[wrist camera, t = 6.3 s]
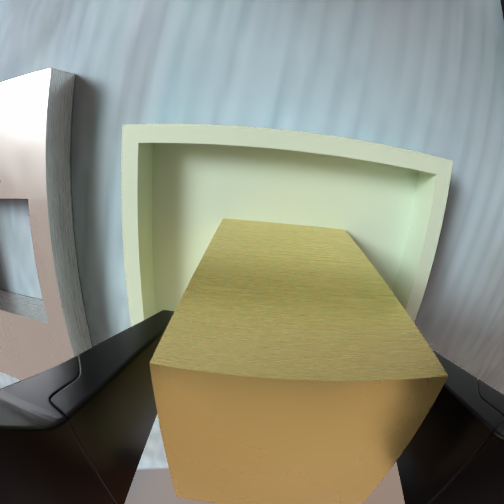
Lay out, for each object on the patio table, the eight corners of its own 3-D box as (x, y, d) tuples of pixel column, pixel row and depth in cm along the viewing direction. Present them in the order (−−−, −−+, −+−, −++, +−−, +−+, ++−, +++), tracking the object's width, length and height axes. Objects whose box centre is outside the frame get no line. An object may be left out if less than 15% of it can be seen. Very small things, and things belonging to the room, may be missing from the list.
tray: (427, 155, 11) (452, 160, 9) (370, 379, 15) (379, 406, 13) (144, 126, 11) (122, 124, 9) (153, 362, 15) (141, 389, 13)
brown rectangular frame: (75, 73, 10) (50, 68, 8) (101, 383, 16) (89, 404, 14) (-30, 102, 10) (-53, 103, 9) (7, 352, 16) (-8, 367, 14)
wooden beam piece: (345, 229, 12) (448, 375, 4) (324, 331, 13) (363, 502, 6) (222, 218, 12) (149, 363, 4) (218, 323, 13) (176, 496, 6)
